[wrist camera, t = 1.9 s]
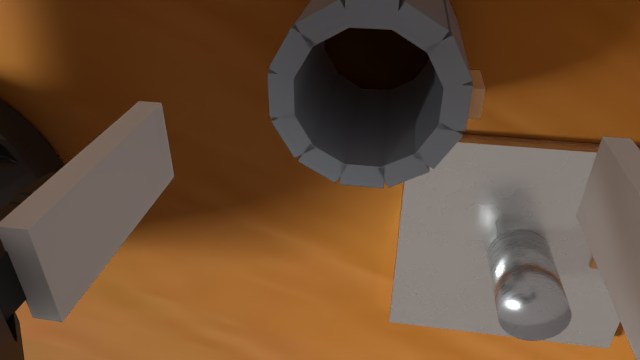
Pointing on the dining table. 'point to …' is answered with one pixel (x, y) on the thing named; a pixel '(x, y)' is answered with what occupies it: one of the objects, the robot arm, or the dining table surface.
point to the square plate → (502, 244)
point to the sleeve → (373, 94)
